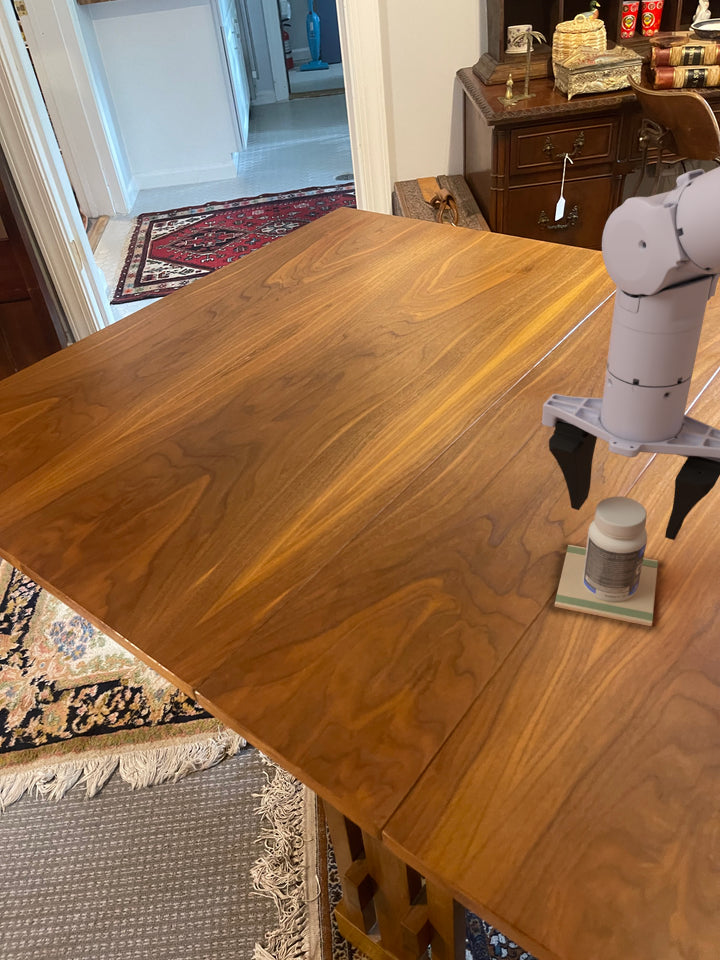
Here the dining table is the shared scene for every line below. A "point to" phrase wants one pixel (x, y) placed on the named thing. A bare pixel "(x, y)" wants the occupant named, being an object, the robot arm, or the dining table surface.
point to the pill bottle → (615, 549)
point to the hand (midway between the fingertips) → (624, 516)
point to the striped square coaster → (581, 600)
